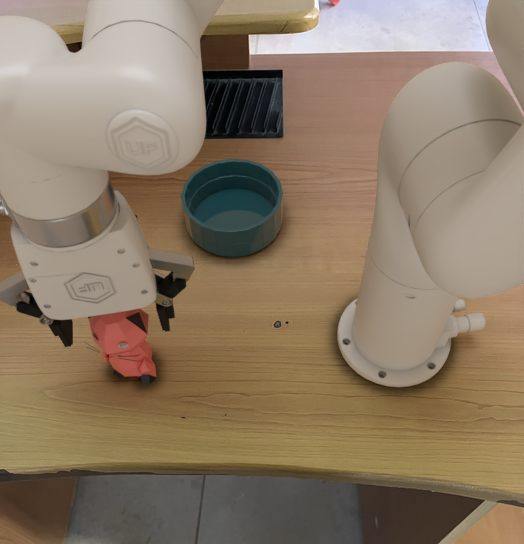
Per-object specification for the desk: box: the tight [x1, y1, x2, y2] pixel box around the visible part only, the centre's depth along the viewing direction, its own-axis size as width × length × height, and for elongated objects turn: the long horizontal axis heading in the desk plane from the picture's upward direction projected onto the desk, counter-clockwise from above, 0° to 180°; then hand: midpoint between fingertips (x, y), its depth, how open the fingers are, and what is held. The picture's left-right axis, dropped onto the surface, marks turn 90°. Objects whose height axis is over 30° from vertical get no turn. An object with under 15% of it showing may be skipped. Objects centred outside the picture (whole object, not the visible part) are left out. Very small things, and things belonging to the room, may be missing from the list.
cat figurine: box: [84, 308, 157, 386], centre depth 59 cm, size 7×7×12 cm
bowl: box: [180, 158, 284, 258], centre depth 73 cm, size 13×13×5 cm
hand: (117, 327), depth 57 cm, fingers open, 9 cm apart
